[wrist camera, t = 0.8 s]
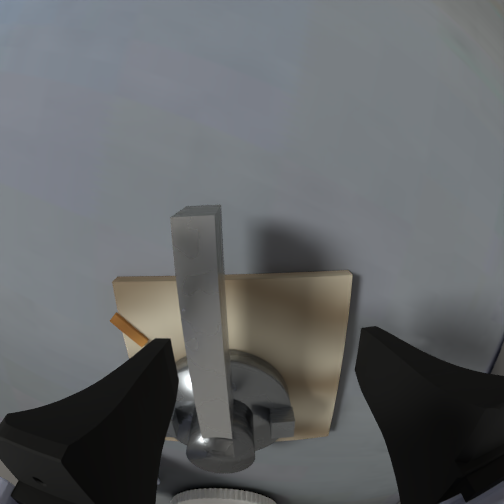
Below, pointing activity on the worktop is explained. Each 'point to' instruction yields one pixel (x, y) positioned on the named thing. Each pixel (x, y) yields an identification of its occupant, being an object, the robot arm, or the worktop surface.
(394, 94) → the worktop surface
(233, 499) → the plastic lid
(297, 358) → the square wooden board
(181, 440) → the metal lever mechanism
